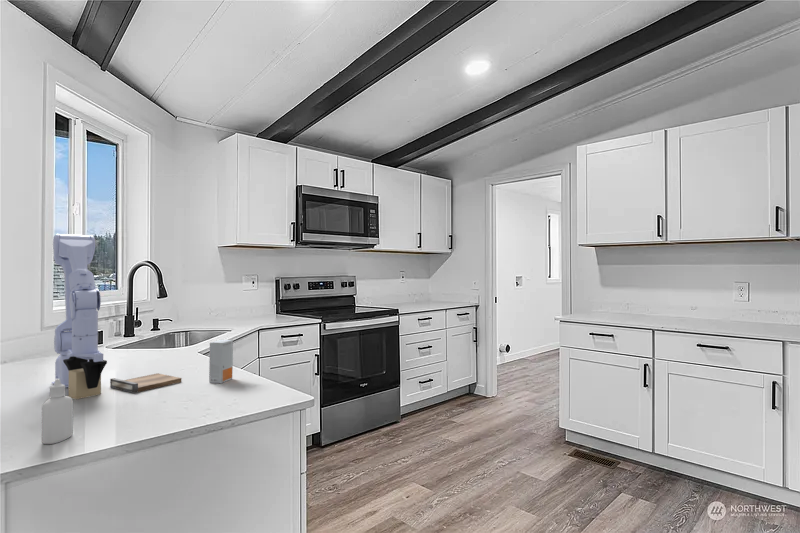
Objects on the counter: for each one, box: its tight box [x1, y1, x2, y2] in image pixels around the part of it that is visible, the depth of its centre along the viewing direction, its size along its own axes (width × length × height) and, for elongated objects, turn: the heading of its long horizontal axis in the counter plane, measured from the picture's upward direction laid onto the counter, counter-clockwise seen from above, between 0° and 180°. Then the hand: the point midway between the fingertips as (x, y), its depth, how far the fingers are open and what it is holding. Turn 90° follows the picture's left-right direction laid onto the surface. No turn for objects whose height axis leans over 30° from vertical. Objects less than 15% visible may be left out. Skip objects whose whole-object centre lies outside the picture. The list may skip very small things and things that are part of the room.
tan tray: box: [109, 373, 182, 394], centre depth 134 cm, size 12×14×2 cm
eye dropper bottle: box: [41, 378, 74, 445], centre depth 92 cm, size 4×6×12 cm
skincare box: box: [208, 339, 234, 384], centre depth 139 cm, size 6×4×12 cm
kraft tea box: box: [68, 368, 102, 400], centre depth 123 cm, size 4×6×7 cm, turn 149°
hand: (84, 386), depth 123 cm, fingers open, 7 cm apart
